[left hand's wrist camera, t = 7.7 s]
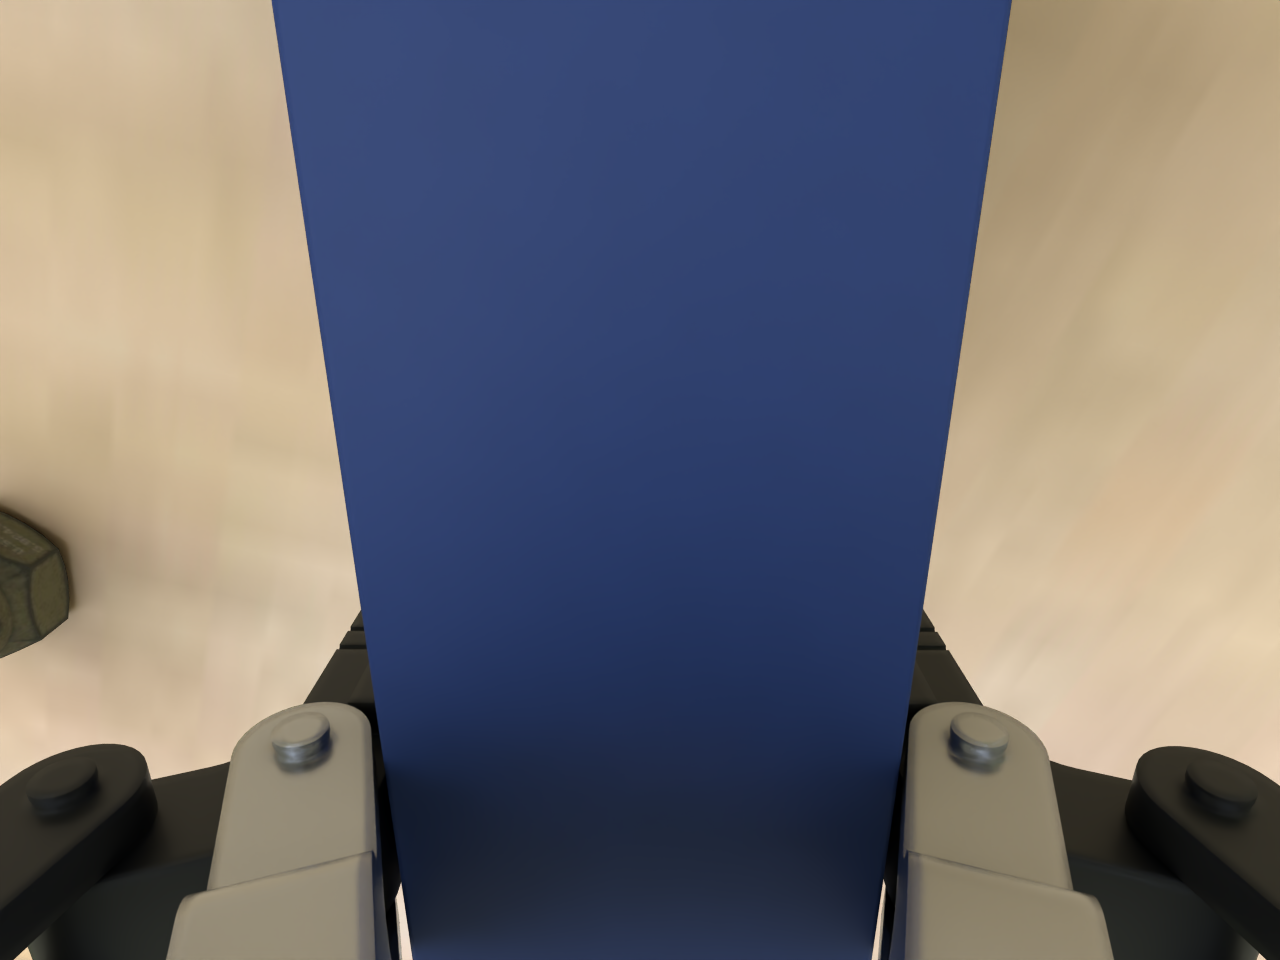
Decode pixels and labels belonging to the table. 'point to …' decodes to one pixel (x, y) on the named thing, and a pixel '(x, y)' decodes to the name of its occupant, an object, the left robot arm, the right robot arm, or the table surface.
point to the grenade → (29, 586)
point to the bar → (641, 442)
